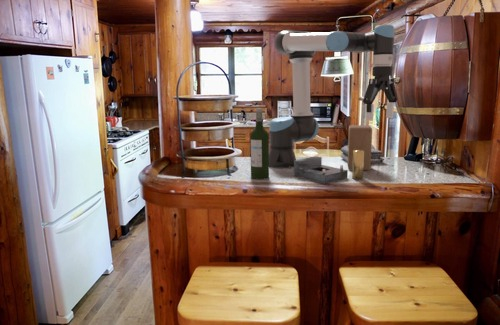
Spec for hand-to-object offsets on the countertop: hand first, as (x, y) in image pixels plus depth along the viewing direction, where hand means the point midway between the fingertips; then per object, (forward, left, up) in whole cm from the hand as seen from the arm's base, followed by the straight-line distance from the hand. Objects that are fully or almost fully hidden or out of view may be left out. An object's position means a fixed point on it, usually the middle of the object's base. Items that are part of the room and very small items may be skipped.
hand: (379, 119), depth 163 cm
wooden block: (-18, +10, -25) cm, 33 cm away
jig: (-18, -16, -25) cm, 34 cm away
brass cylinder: (-6, -6, -25) cm, 26 cm away
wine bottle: (-35, -36, -25) cm, 56 cm away
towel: (-28, +25, -26) cm, 46 cm away
